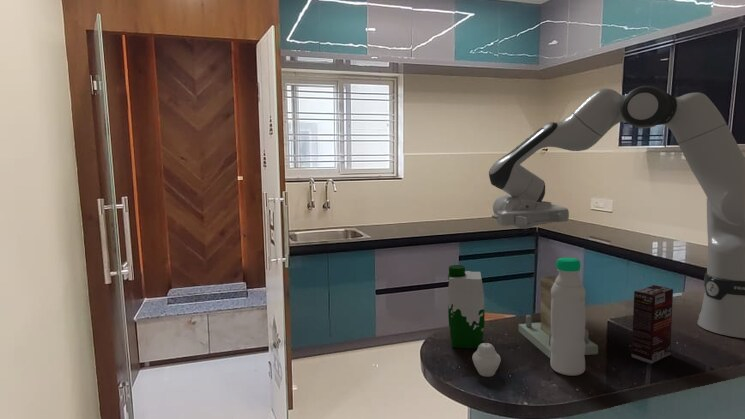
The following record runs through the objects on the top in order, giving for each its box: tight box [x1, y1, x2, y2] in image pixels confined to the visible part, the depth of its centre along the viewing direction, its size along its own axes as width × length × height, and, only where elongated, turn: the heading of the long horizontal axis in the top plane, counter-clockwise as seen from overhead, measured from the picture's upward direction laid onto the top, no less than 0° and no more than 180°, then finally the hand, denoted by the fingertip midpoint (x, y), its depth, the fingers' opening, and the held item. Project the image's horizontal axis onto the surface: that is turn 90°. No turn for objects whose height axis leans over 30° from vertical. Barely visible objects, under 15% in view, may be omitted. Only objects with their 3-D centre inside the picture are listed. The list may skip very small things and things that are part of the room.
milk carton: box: [447, 264, 485, 350], centre depth 116 cm, size 9×9×20 cm
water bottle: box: [549, 257, 587, 377], centre depth 99 cm, size 7×7×25 cm
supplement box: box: [631, 284, 674, 365], centre depth 104 cm, size 9×5×16 cm, turn 122°
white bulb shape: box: [471, 342, 502, 378], centre depth 100 cm, size 6×6×7 cm
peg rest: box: [518, 314, 599, 359], centre depth 115 cm, size 12×17×5 cm
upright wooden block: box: [540, 275, 558, 335], centre depth 114 cm, size 4×8×14 cm, turn 6°
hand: (544, 220), depth 124 cm, fingers open, 8 cm apart
